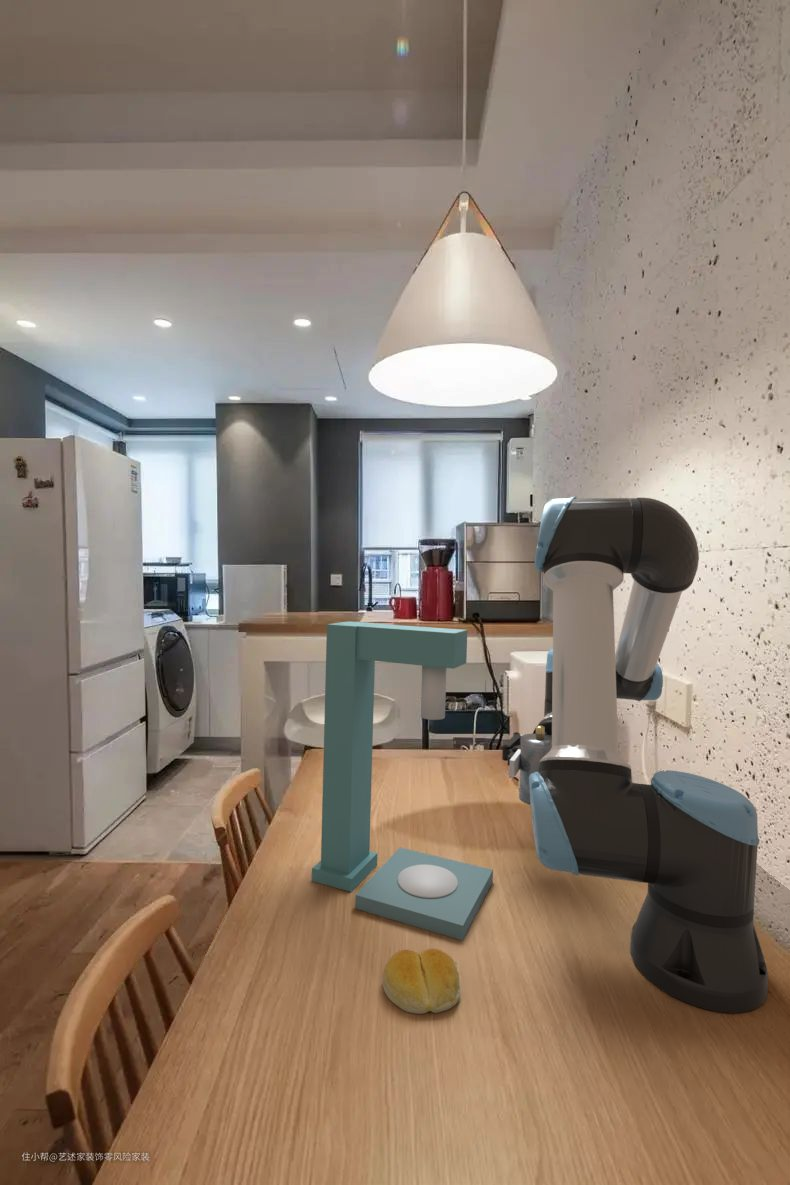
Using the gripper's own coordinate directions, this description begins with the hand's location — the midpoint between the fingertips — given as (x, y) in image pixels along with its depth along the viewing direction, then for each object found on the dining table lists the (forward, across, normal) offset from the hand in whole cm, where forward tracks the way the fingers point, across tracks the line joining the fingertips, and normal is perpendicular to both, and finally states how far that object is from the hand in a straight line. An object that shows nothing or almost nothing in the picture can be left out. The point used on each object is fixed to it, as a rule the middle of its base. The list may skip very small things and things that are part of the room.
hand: (533, 772), depth 89 cm
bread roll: (+28, +7, -18) cm, 34 cm away
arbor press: (+10, +18, -18) cm, 27 cm away
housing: (-5, 0, -6) cm, 8 cm away
